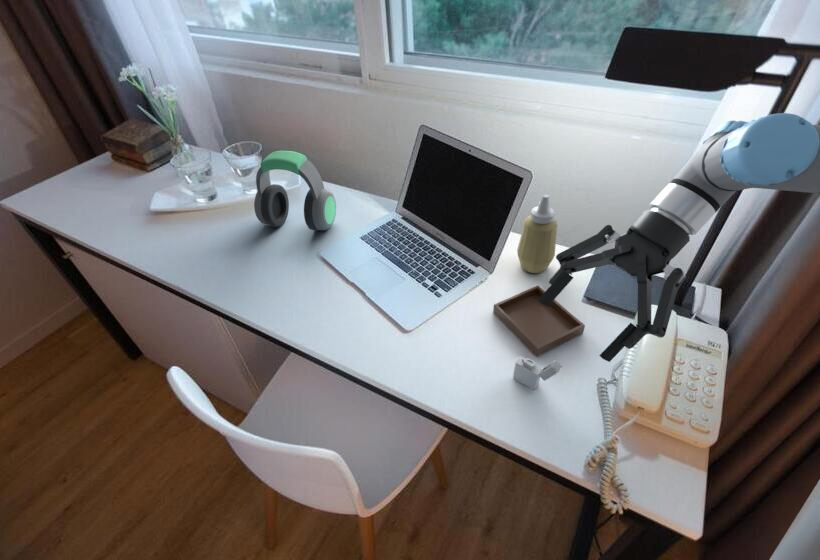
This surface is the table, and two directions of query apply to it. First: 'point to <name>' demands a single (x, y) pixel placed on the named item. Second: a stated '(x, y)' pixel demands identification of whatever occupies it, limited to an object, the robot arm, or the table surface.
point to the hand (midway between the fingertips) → (571, 329)
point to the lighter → (533, 372)
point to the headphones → (274, 197)
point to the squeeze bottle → (538, 238)
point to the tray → (538, 321)
